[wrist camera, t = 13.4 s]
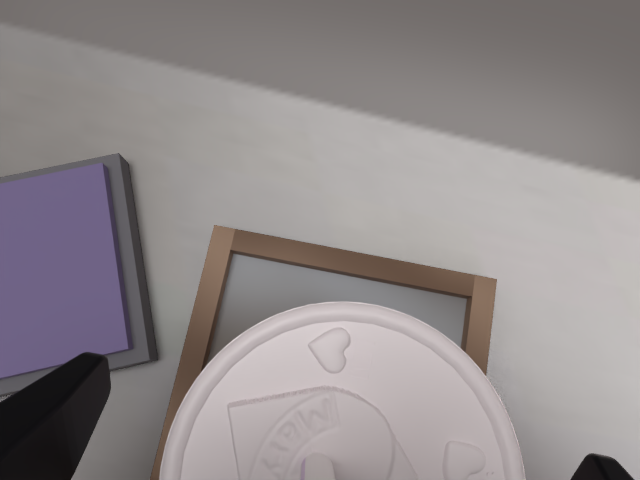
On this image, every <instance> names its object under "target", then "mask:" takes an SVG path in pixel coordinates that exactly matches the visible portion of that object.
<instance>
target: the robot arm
mask: <svg viewBox="0 0 640 480" xmlns="http://www.w3.org/2000/svg"><path fill="white" fill-rule="evenodd" d="M110 390H111V381H110V371H109V362H108V358H107V357H106V356H105V355H102V354H97V353H92V352H84V353H81V354H79V355H78V356H76V357H74V358H73V359H71V360H69V361H68V362H66V363H64V364H63V365H61V366H59V367H58V368H56V369H54V370H53V371H51V372H49V373H48V374H46V375H44V376H43V377H41V378H40V379H38V380H36V381H35V382H33V383H31V384H30V385H28V386H26V387H25V388H23V389H21V390H20V391H18V392H16V393H15V394H13V395H11V396H10V397H8V398H6V399H5V400H3V401H1V402H0V480H71V478H72V476H73V474H74V472H75V470H76V468H77V466H78V464H79V462H80V460H81V457H82V455H83V453H84V451H85V449H86V446H87V444H88V442H89V440H90V437H91V435H92V433H93V431H94V429H95V426H96V424H97V422H98V420H99V417H100V415H101V413H102V411H103V408H104V406H105V404H106V402H107V400H108V397H109V394H110ZM571 480H634V479H633V478H632V477H631V476H630V475H629V474H628V472H627V471H626V470H625V469H624V468H623V467H622V466H621V465H620V464H619V463H618V462H617V461H616V460H615V459H614V458H612V457H608V456H603V455H599V454H594V453H591V454H589V455H587V456H586V457H585V458H584V460H583V461H582V463H581V464H580V466H579V467H578V469H577V470H576V472H575V473H574V475H573V476H572V478H571Z"/></svg>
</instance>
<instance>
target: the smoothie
mask: <svg viewBox="0 0 640 480" xmlns="http://www.w3.org/2000/svg"><path fill="white" fill-rule="evenodd" d="M159 480H526V479H525V470H524V464H523V459H522V454H521V450H520V446H519V443H518V439H517V436H516V433H515V430H514V427H513V425H512V422H511V420H510V417H509V415H508V413H507V411H506V409H505V407H504V405H503V403H502V401H501V399H500V397H499V395H498V394H497V392H496V390H495V389H494V387H493V386H492V384H491V382H490V381H489V380H488V378H487V377H486V376H485V374H484V373H483V372H482V371H481V369H480V368H479V367H478V366H477V365H476V363H475V362H474V361H473V360H472V359H471V358H470V357H469V356H468V355H467V354H466V353H465V352H464V351H463V350H462V349H461V348H460V347H458V346H457V345H456V344H455V343H454V342H453V341H451V340H450V339H449V338H447V337H446V336H445V335H443V334H442V333H441V332H439V331H438V330H436V329H434V328H433V327H431V326H429V325H428V324H426V323H424V322H422V321H420V320H418V319H416V318H414V317H412V316H410V315H407V314H405V313H402V312H399V311H396V310H394V309H390V308H386V307H382V306H379V305H373V304H367V303H361V302H344V301H342V302H324V303H317V304H308V305H305V306H301V307H297V308H293V309H290V310H287V311H285V312H282V313H279V314H276V315H274V316H272V317H269V318H267V319H265V320H263V321H261V322H260V323H258V324H256V325H254V326H253V327H251V328H249V329H248V330H246V331H245V332H243V333H242V334H240V335H239V336H238V337H236V338H235V339H234V340H232V341H231V342H230V343H229V344H228V345H227V346H225V347H224V348H223V349H222V350H221V351H220V352H219V353H218V354H217V355H216V356H215V357H214V358H213V359H212V360H211V361H210V362H209V363H208V364H207V366H206V367H205V368H204V369H203V371H202V372H201V373H200V375H199V376H198V377H197V378H196V380H195V381H194V383H193V384H192V386H191V388H190V389H189V391H188V392H187V394H186V395H185V397H184V399H183V401H182V403H181V405H180V407H179V409H178V411H177V413H176V416H175V418H174V421H173V423H172V426H171V428H170V431H169V434H168V438H167V441H166V444H165V448H164V453H163V458H162V462H161V468H160V477H159Z"/></svg>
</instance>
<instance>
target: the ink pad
mask: <svg viewBox="0 0 640 480" xmlns="http://www.w3.org/2000/svg"><path fill="white" fill-rule="evenodd" d="M84 352H92V353H97V354H102V355H105V356H106V357H107V358H108V362H109V371H114V370H118V369H122V368H126V367H131V366H135V365H139V364H144V363H148V362H152V361H157V360H158V357H157V350H156V343H155V337H154V330H153V324H152V317H151V311H150V304H149V297H148V291H147V284H146V278H145V271H144V265H143V258H142V252H141V245H140V238H139V232H138V225H137V219H136V212H135V206H134V199H133V192H132V186H131V179H130V173H129V166H128V162H127V161H126V160H125V159H124V158H123V157H122V156H121V155H120V154H119V153H117V154H112V155H108V156H103V157H98V158H93V159H88V160H83V161H78V162H73V163H69V164H64V165H59V166H54V167H49V168H44V169H39V170H34V171H29V172H25V173H20V174H15V175H10V176H5V177H0V397H2V396H6V395H10V394H15V393H16V392H18V391H20V390H21V389H23V388H25V387H26V386H28V385H30V384H31V383H33V382H35V381H36V380H38V379H40V378H41V377H43V376H44V375H46V374H48V373H49V372H51V371H53V370H54V369H56V368H58V367H59V366H61V365H63V364H64V363H66V362H68V361H69V360H71V359H73V358H74V357H76V356H78V355H79V354H81V353H84Z"/></svg>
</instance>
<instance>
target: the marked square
mask: <svg viewBox="0 0 640 480" xmlns="http://www.w3.org/2000/svg"><path fill="white" fill-rule="evenodd" d="M496 282H497V279H493V278H488V277H482V276H477V275H472V274H467V273H461V272H456V271H451V270H446V269H441V268H435V267H430V266H425V265H420V264H415V263H409V262H404V261H399V260H394V259H389V258H383V257H378V256H373V255H368V254H363V253H357V252H352V251H347V250H342V249H337V248H331V247H326V246H321V245H316V244H311V243H305V242H300V241H295V240H290V239H284V238H279V237H274V236H269V235H264V234H258V233H253V232H248V231H243V230H238V229H232V228H227V227H222V226H217V225H214V228H213V232H212V236H211V240H210V244H209V248H208V252H207V256H206V260H205V264H204V268H203V272H202V276H201V280H200V284H199V288H198V292H197V296H196V300H195V304H194V307H193V311H192V315H191V319H190V323H189V327H188V331H187V335H186V339H185V343H184V347H183V351H182V355H181V359H180V363H179V367H178V371H177V375H176V379H175V383H174V387H173V390H172V394H171V398H170V402H169V406H168V410H167V414H166V418H165V422H164V426H163V430H162V434H161V438H160V442H159V446H158V450H157V454H156V458H155V462H154V466H153V470H152V473H151V477H150V480H159V477H160V468H161V462H162V458H163V453H164V448H165V444H166V441H167V438H168V434H169V431H170V428H171V426H172V423H173V421H174V418H175V416H176V413H177V411H178V409H179V407H180V405H181V403H182V401H183V399H184V397H185V395H186V394H187V392H188V391H189V389H190V388H191V386H192V384H193V383H194V381H195V380H196V378H197V377H198V376H199V375H200V373H201V372H202V371H203V369H204V368H205V367H206V366H207V364H208V363H209V362H210V361H211V360H212V359H213V358H214V357H215V356H216V355H217V354H218V353H219V352H220V351H221V350H222V349H223V348H224V347H225V346H227V345H228V344H229V343H230V342H231V341H232V340H234V339H235V338H236V337H238V336H239V335H240V334H242V333H243V332H245V331H246V330H248V329H249V328H251V327H253V326H254V325H256V324H258V323H260V322H261V321H263V320H265V319H267V318H269V317H272V316H274V315H276V314H279V313H282V312H285V311H287V310H290V309H293V308H297V307H301V306H305V305H308V304H317V303H324V302H342V301H344V302H361V303H367V304H373V305H379V306H382V307H386V308H390V309H394V310H396V311H399V312H402V313H405V314H407V315H410V316H412V317H414V318H416V319H418V320H420V321H422V322H424V323H426V324H428V325H429V326H431V327H433V328H434V329H436V330H438V331H439V332H441V333H442V334H443V335H445V336H446V337H447V338H449V339H450V340H451V341H453V342H454V343H455V344H456V345H457V346H458V347H460V348H461V349H462V350H463V351H464V352H465V353H466V354H467V355H468V356H469V357H470V358H471V359H472V360H473V361H474V362H475V363H476V365H477V366H478V367H479V368H480V369H481V371H482V372H483V373H484V374H485V376H486V371H487V362H488V353H489V345H490V336H491V327H492V318H493V309H494V300H495V291H496Z"/></svg>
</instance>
